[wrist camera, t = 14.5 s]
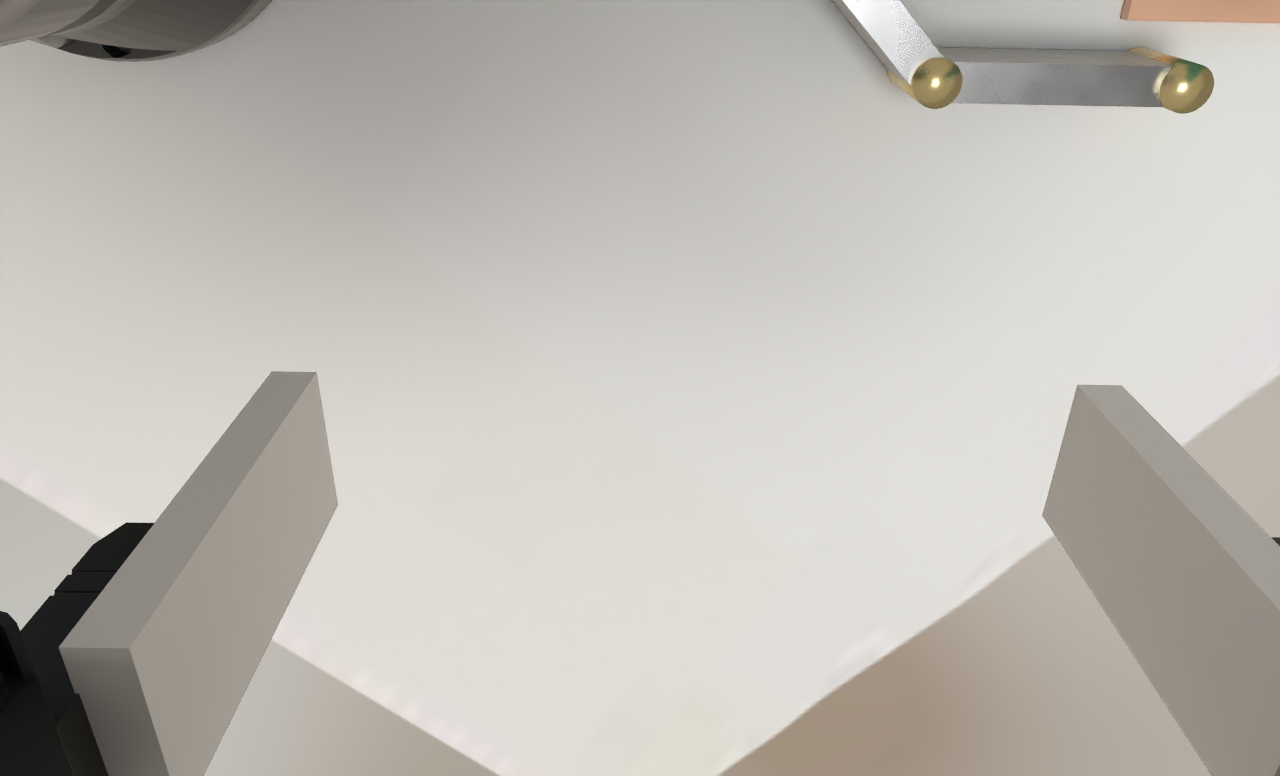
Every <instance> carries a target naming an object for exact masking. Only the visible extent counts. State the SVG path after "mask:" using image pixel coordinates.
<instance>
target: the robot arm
mask: <svg viewBox="0 0 1280 776" xmlns="http://www.w3.org/2000/svg"><path fill="white" fill-rule="evenodd" d="M270 1H271V0H0V47H1V46H5V45H9V44H14V43H18V42H22V41H26V40H32V41H35V42H38V43H41V44H44V45H48V46H51V47H54V48H57V49H60V50H64V51H67V52H70V53H74V54H78V55H82V56H86V57H90V58H96V59H102V60H111V61H131V62H137V61H153V60H160V59H166V58H171V57H175V56H179V55H182V54H185V53H188V52H191V51H194V50H197V49H200V48H203V47H206V46H209V45H212V44H214V43H216V42H219V41H221V40H223V39H225V38H227V37H229V36H230V35H232V34H234V33H235V32H237V31H238V30H240V29H241V28H243V27H244V26H246V25H247V24H248V23H249V22H251V21H252V20H253V19H254V18H255V17H256V16H257V15H258V14H259V13H260V12H262V11H263V10H264V8H265V7H266V6H267V5H268V4H269V3H270ZM337 506H338V503H337V497H336V490H335V484H334V478H333V472H332V465H331V459H330V453H329V447H328V441H327V434H326V428H325V422H324V416H323V409H322V403H321V397H320V391H319V384H318V378H317V372H271V373H270V375H269V376H268V377H267V378H266V380H265V381H264V382H263V384H262V385H261V386H260V387H259V389H258V390H257V391H256V393H255V394H254V395H253V397H252V398H251V399H250V400H249V402H248V403H247V404H246V406H245V407H244V408H243V409H242V411H241V412H240V413H239V415H238V416H237V417H236V419H235V420H234V421H233V422H232V424H231V425H230V426H229V428H228V429H227V430H226V431H225V433H224V434H223V435H222V437H221V438H220V439H219V440H218V442H217V443H216V444H215V446H214V447H213V448H212V450H211V451H210V452H209V453H208V455H207V456H206V457H205V459H204V460H203V461H202V462H201V464H200V465H199V466H198V468H197V469H196V470H195V472H194V473H193V474H192V475H191V477H190V478H189V479H188V481H187V482H186V483H185V484H184V486H183V487H182V488H181V490H180V491H179V492H178V493H177V495H176V496H175V497H174V499H173V500H172V501H171V503H170V504H169V505H168V506H167V508H166V509H165V510H164V512H163V513H162V514H161V515H160V517H159V518H158V519H157V521H156V522H155V523H125V524H124V525H122V526H121V527H119V528H117V529H116V530H114V531H113V532H111V533H110V534H108V535H107V536H105V537H104V538H102V539H101V540H99V541H98V542H96V543H95V544H93V546H92V547H91V548H90V549H89V550H88V551H87V553H86V554H85V555H84V556H83V557H82V558H81V560H80V561H79V562H78V563H77V564H76V566H75V567H74V568H73V569H72V574H71V575H67V576H66V577H65V579H64V580H63V581H62V582H61V583H60V585H59V586H58V587H57V588H56V589H55V594H54V596H49V598H48V599H47V600H46V601H45V602H44V604H43V605H42V606H41V607H40V609H39V610H38V611H37V612H36V613H35V614H34V615H33V617H32V618H31V619H30V620H29V621H28V623H27V624H26V625H25V626H24V628H23V629H22V630H21V631H20V630H19V628H18V625H17V623H16V622H15V621H14V619H13V618H12V617H11V616H10V615H9V614H8V613H6V612H2V611H0V776H204V774H205V772H206V770H207V768H208V766H209V764H210V762H211V760H212V758H213V756H214V754H215V752H216V750H217V748H218V746H219V744H220V742H221V740H222V738H223V736H224V734H225V732H226V730H227V728H228V726H229V724H230V722H231V719H232V717H233V715H234V713H235V711H236V709H237V707H238V705H239V703H240V701H241V699H242V697H243V695H244V693H245V691H246V689H247V687H248V685H249V683H250V681H251V679H252V677H253V675H254V673H255V671H256V669H257V667H258V665H259V663H260V661H261V659H262V657H263V655H264V653H265V651H266V649H267V647H268V645H269V643H270V641H271V639H272V637H273V635H274V633H275V631H276V629H277V627H278V625H279V623H280V621H281V619H282V617H283V615H284V613H285V611H286V608H287V606H288V604H289V602H290V600H291V598H292V596H293V594H294V592H295V590H296V588H297V586H298V584H299V582H300V580H301V578H302V576H303V574H304V572H305V570H306V568H307V566H308V564H309V562H310V560H311V558H312V556H313V554H314V552H315V550H316V548H317V546H318V544H319V542H320V540H321V538H322V536H323V534H324V532H325V530H326V528H327V526H328V524H329V522H330V520H331V518H332V516H333V514H334V512H335V510H336V508H337ZM1042 516H1043V517H1044V519H1045V520H1046V522H1047V524H1048V525H1049V527H1050V528H1051V530H1052V531H1053V533H1054V534H1055V536H1056V537H1057V539H1058V540H1059V542H1060V543H1061V545H1062V547H1063V548H1064V550H1065V551H1066V553H1067V554H1068V556H1069V557H1070V559H1071V560H1072V562H1073V563H1074V565H1075V567H1076V568H1077V570H1078V571H1079V573H1080V574H1081V576H1082V577H1083V579H1084V580H1085V582H1086V583H1087V585H1088V587H1089V588H1090V590H1091V591H1092V592H1093V594H1094V596H1095V597H1096V599H1097V600H1098V602H1099V603H1100V605H1101V607H1102V608H1103V610H1104V611H1105V613H1106V614H1107V616H1108V617H1109V619H1110V620H1111V622H1112V623H1113V625H1114V626H1115V628H1116V629H1117V631H1118V633H1119V634H1120V636H1121V637H1122V639H1123V640H1124V642H1125V643H1126V645H1127V646H1128V648H1129V650H1130V651H1131V653H1132V654H1133V655H1134V657H1135V659H1136V660H1137V662H1138V663H1139V665H1140V666H1141V668H1142V670H1143V671H1144V673H1145V674H1146V676H1147V677H1148V679H1149V680H1150V682H1151V683H1152V685H1153V686H1154V688H1155V690H1156V691H1157V692H1158V694H1159V696H1160V697H1161V699H1162V700H1163V702H1164V703H1165V705H1166V706H1167V708H1168V710H1169V711H1170V713H1171V714H1172V716H1173V717H1174V719H1175V720H1176V722H1177V723H1178V725H1179V726H1180V728H1181V729H1182V731H1183V733H1184V734H1185V736H1186V737H1187V739H1188V740H1189V742H1190V743H1191V745H1192V746H1193V748H1194V749H1195V751H1196V753H1197V754H1198V756H1199V757H1200V759H1201V760H1202V762H1203V763H1204V765H1205V766H1206V768H1207V769H1208V771H1209V773H1210V774H1211V775H1212V776H1280V538H1272V537H1270V536H1269V535H1268V534H1267V533H1266V532H1265V531H1264V530H1263V529H1262V528H1261V527H1260V526H1259V525H1258V524H1257V523H1256V522H1255V521H1254V520H1253V519H1252V518H1251V517H1250V516H1249V515H1248V514H1247V512H1246V511H1244V510H1243V508H1242V507H1241V506H1240V505H1239V504H1238V503H1237V502H1236V501H1235V500H1234V499H1233V498H1232V497H1231V496H1230V495H1229V494H1228V493H1227V492H1226V491H1225V490H1224V489H1223V488H1222V487H1221V486H1220V485H1219V484H1218V483H1217V482H1216V481H1215V480H1214V479H1213V478H1212V477H1211V476H1210V475H1209V474H1208V473H1207V472H1206V471H1205V470H1204V469H1203V468H1202V467H1201V466H1200V465H1199V464H1198V463H1197V462H1196V461H1195V460H1194V459H1193V458H1192V457H1191V456H1190V455H1189V454H1188V453H1187V452H1186V451H1185V450H1184V449H1183V448H1182V447H1181V445H1180V444H1179V443H1178V442H1177V441H1176V440H1175V439H1174V438H1173V437H1172V436H1171V435H1170V434H1169V433H1168V432H1167V431H1166V430H1165V429H1164V428H1163V427H1162V426H1161V425H1160V424H1159V423H1158V422H1157V421H1156V420H1155V419H1154V418H1153V417H1152V416H1151V415H1150V414H1149V413H1148V412H1147V411H1146V410H1145V409H1144V408H1143V407H1142V406H1141V405H1140V404H1139V403H1138V402H1137V401H1136V400H1135V399H1134V398H1133V397H1132V396H1131V395H1130V394H1129V393H1128V392H1127V391H1126V390H1125V389H1124V388H1123V387H1122V386H1116V385H1077V388H1076V392H1075V396H1074V400H1073V403H1072V407H1071V411H1070V414H1069V418H1068V422H1067V426H1066V429H1065V433H1064V437H1063V440H1062V444H1061V448H1060V452H1059V455H1058V459H1057V463H1056V467H1055V470H1054V474H1053V478H1052V481H1051V485H1050V489H1049V493H1048V496H1047V500H1046V504H1045V507H1044V511H1043V515H1042Z"/></svg>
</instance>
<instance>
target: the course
mask: <svg viewBox="0 0 1280 776" xmlns="http://www.w3.org/2000/svg"><path fill="white" fill-rule="evenodd" d="M831 1H832V2H833V3H834V4H835V6H836V7H837V8H838V9H839V11H840V12H841V13H842V14H843V16H844V17H845V18H846V19H847V21H848V22H849V23H850V24H851V26H852V27H853V28H854V29H855V30H856V32H857V33H858V34H859V35H860V37H861V38H862V39H863V40H864V42H865V43H866V44H867V45H868V47H869V48H870V49H871V50H872V52H873V53H874V54H875V55H876V57H877V58H878V59H879V60H880V62H881V63H882V64H883V65H884V67H885V68H886V69H887V74H888V77H889V79H890V80H891V81H892V82H893V83H894V84H895V85H896V86H898V87H899V88H900V89H902V90H903V91H904V92H906V93H907V94H909V95H910V96H911V97H913V98H914V99H915V100H917V101H918V102H919V103H921V104H922V105H924V106H925V107H928V108H932V109H938V108H942V107H945V106H947V105H949V104H950V103H978V104H1030V105H1082V106H1134V107H1164V108H1166V109H1169V110H1171V111H1174V112H1176V113H1189V112H1192V111H1195V110H1197V109H1198V108H1200V107H1201V106H1202V105H1203V104H1204V103H1205V102H1206V101H1207V100H1208V98H1209V97H1210V95H1211V93H1212V90H1213V87H1214V78H1213V75H1212V73H1211V71H1210V70H1209V69H1208V68H1207V67H1205V66H1203V65H1200V64H1197V63H1193V62H1190V61H1187V60H1183V59H1180V58H1177V57H1173V56H1170V55H1167V54H1163V53H1160V52H1157V51H1153V50H1150V49H1147V48H1143V47H1136V48H1132V49H1130V50H1128V51H1112V50H1062V49H1011V48H961V47H935V46H934V44H933V43H932V42H931V41H930V39H929V38H928V37H927V35H926V34H925V33H924V31H923V30H922V29H921V28H920V26H919V25H918V24H917V22H916V21H915V20H914V19H913V17H912V16H911V15H910V13H909V12H908V11H907V9H906V8H905V7H904V6H903V4H902V3H901V2H900V0H831Z"/></svg>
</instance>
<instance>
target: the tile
mask: <svg viewBox="0 0 1280 776" xmlns="http://www.w3.org/2000/svg"><path fill="white" fill-rule="evenodd" d="M1121 19H1125V20H1145V21H1195V22H1244V23H1280V0H1125V2H1124V6H1123V10H1122V14H1121Z"/></svg>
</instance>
